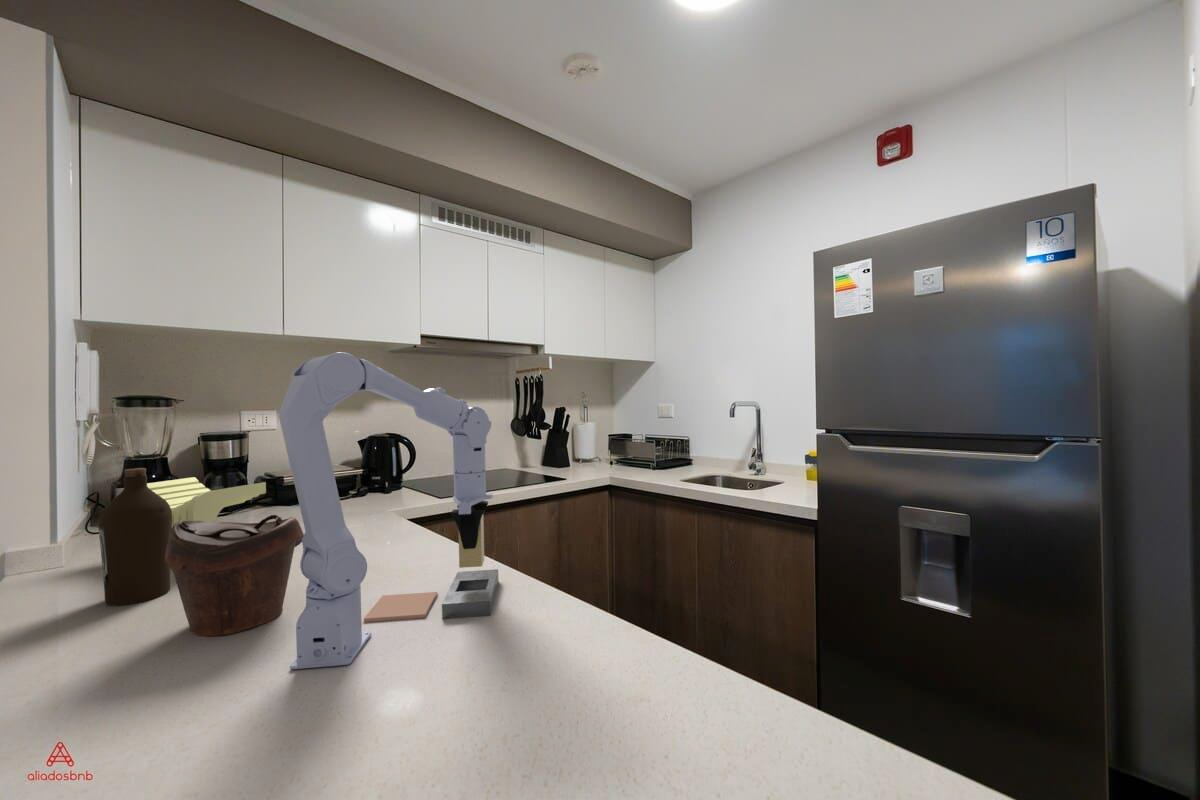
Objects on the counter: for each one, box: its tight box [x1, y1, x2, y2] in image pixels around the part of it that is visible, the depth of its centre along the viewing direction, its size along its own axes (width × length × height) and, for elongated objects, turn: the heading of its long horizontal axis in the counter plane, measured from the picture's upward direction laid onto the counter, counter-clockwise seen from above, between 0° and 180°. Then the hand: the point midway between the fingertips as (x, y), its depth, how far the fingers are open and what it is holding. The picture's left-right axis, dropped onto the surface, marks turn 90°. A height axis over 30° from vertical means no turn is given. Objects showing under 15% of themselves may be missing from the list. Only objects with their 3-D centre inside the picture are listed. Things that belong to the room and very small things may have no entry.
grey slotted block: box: [441, 569, 500, 620], centre depth 93 cm, size 16×8×2 cm, turn 7°
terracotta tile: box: [363, 591, 438, 623], centre depth 90 cm, size 10×10×1 cm
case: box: [165, 514, 305, 637], centre depth 87 cm, size 18×20×18 cm
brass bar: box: [457, 515, 485, 569], centre depth 93 cm, size 4×4×9 cm
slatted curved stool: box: [147, 476, 267, 527], centre depth 124 cm, size 30×16×18 cm, turn 66°
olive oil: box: [97, 467, 172, 606], centre depth 98 cm, size 11×11×25 cm
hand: (471, 544), depth 93 cm, fingers closed on brass bar, 4 cm apart
